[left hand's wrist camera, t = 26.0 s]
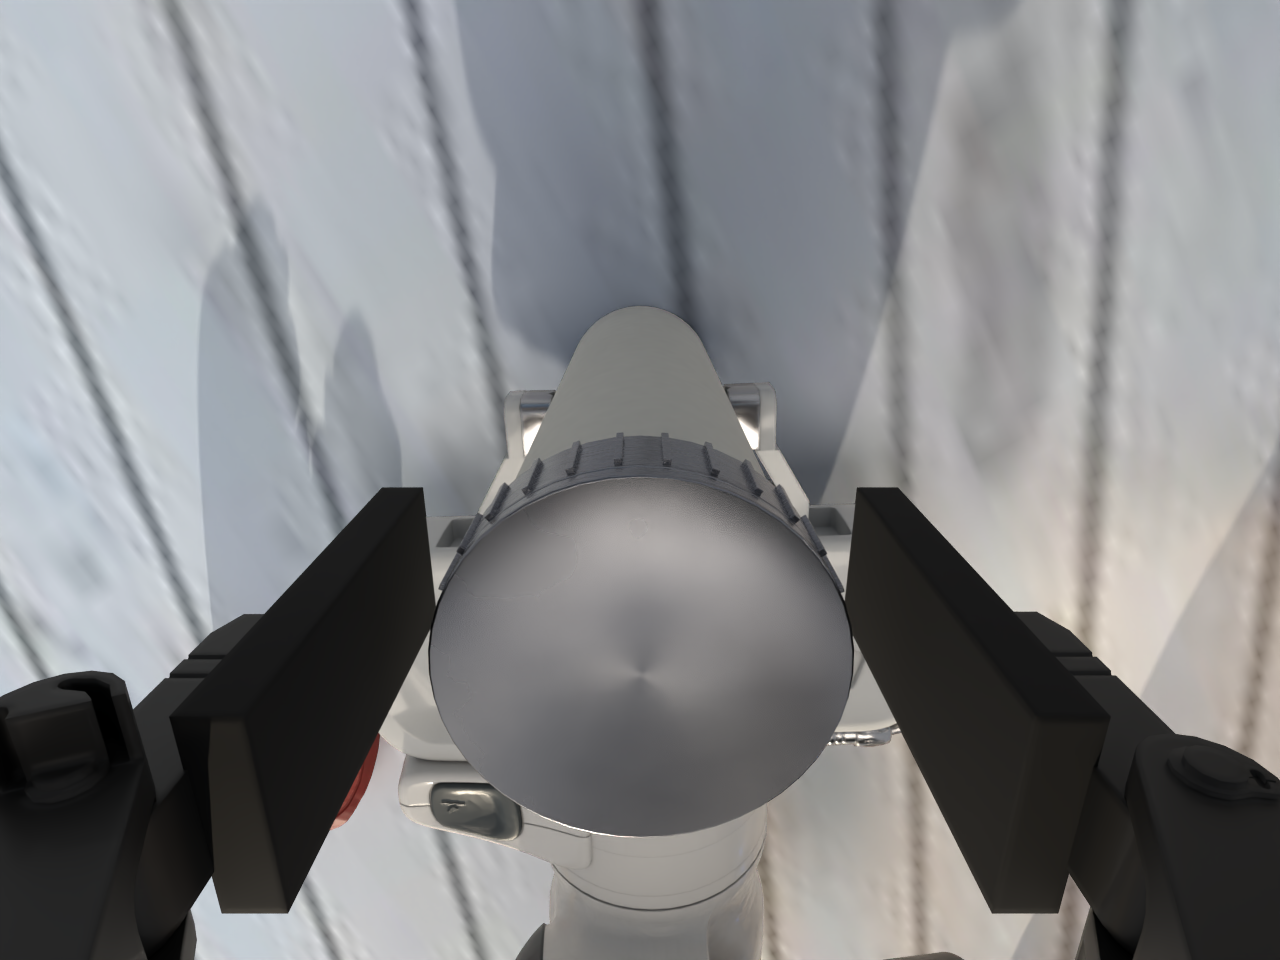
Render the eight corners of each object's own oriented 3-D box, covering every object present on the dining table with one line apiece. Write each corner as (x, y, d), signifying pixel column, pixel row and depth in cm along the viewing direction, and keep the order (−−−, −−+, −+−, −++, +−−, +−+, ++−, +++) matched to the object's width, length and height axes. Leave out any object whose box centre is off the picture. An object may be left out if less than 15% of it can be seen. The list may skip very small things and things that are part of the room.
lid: (521, 792, 13) (504, 877, 12) (395, 486, 11) (352, 535, 10) (857, 719, 13) (890, 796, 11) (788, 384, 11) (816, 414, 9)
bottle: (575, 444, 30) (481, 787, 12) (566, 308, 28) (438, 477, 10) (710, 440, 30) (812, 777, 12) (709, 302, 28) (830, 463, 10)
